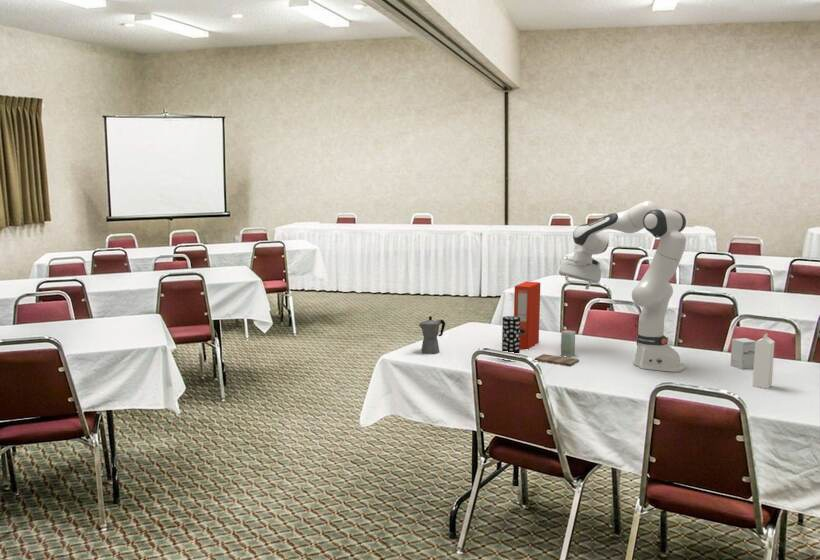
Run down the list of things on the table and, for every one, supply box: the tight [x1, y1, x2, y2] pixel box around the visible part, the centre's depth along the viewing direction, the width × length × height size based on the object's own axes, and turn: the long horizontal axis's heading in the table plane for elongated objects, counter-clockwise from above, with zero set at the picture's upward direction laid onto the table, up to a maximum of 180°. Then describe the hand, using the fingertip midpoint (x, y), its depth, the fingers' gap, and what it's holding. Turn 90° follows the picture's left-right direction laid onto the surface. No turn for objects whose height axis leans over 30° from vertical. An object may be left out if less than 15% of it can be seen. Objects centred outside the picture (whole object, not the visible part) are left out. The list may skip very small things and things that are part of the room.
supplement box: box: [730, 337, 757, 370], centre depth 334 cm, size 7×7×13 cm
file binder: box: [513, 281, 541, 350], centre depth 376 cm, size 8×17×32 cm, turn 152°
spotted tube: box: [501, 315, 521, 362], centre depth 350 cm, size 8×8×20 cm
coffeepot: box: [418, 316, 446, 355], centre depth 365 cm, size 15×9×18 cm, turn 121°
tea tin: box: [560, 329, 576, 358], centre depth 356 cm, size 5×5×12 cm
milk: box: [752, 332, 776, 389], centre depth 303 cm, size 6×6×22 cm
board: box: [534, 353, 580, 367], centre depth 346 cm, size 18×10×1 cm, turn 55°
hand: (577, 286), depth 359 cm, fingers open, 8 cm apart
